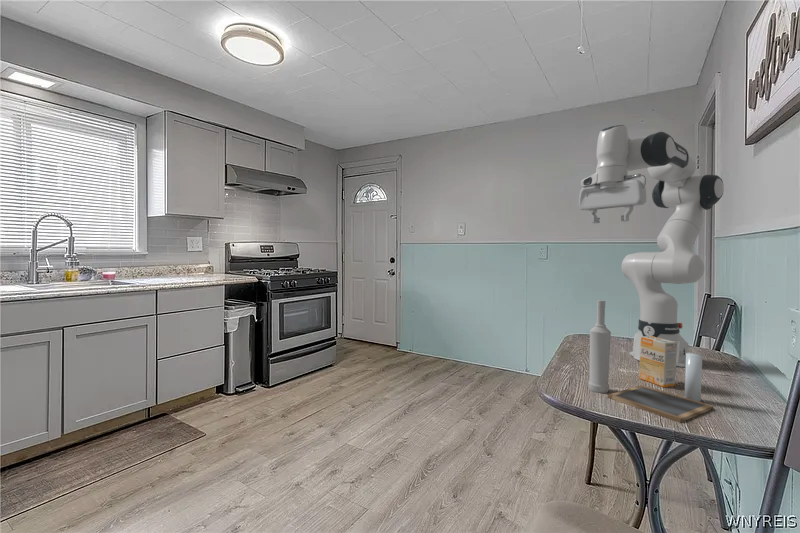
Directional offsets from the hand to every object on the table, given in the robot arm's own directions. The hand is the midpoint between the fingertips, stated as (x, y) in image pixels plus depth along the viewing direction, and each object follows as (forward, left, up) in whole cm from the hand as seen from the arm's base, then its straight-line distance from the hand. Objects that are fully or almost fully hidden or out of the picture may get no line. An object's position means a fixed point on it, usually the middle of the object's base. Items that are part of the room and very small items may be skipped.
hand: (609, 222), depth 122 cm
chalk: (+2, +25, -48) cm, 54 cm away
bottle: (+17, +9, -48) cm, 52 cm away
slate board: (+12, +22, -48) cm, 54 cm away
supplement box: (-5, +13, -48) cm, 50 cm away
